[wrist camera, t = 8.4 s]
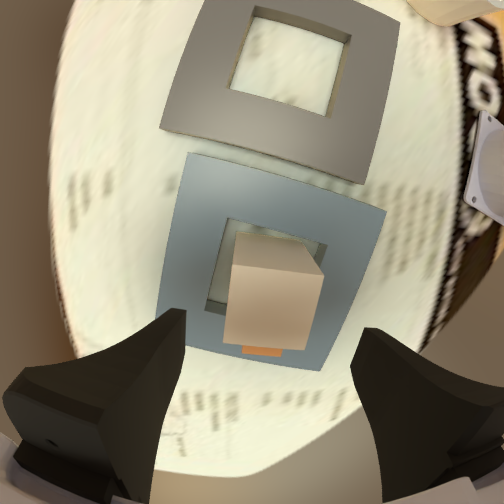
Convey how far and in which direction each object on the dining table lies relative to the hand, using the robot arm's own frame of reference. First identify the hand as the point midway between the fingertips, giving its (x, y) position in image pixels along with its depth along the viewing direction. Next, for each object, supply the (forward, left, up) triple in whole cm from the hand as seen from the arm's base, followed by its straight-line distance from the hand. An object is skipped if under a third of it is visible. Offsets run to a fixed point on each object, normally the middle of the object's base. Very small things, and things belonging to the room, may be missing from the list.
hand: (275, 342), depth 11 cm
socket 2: (0, 0, -8) cm, 8 cm away
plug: (0, 0, -8) cm, 8 cm away
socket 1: (+2, -13, -8) cm, 15 cm away
